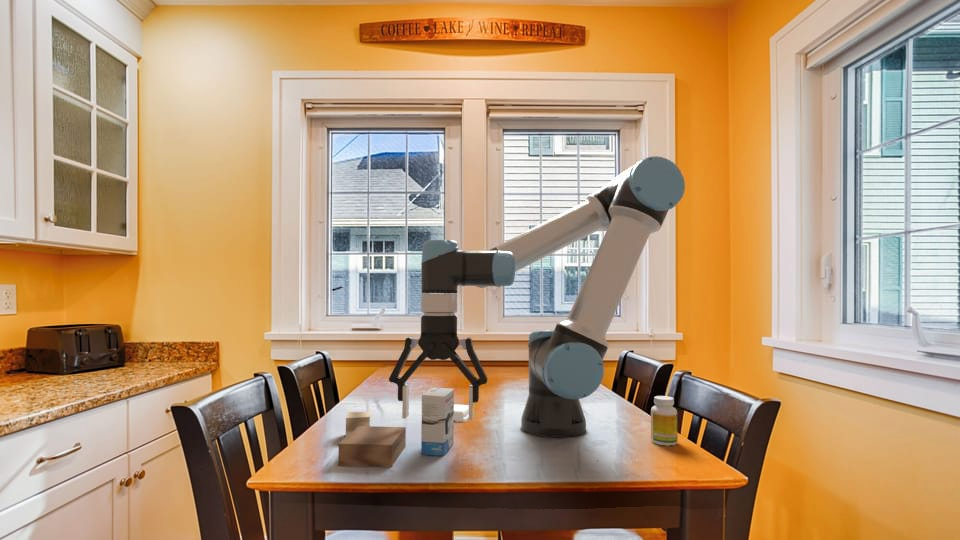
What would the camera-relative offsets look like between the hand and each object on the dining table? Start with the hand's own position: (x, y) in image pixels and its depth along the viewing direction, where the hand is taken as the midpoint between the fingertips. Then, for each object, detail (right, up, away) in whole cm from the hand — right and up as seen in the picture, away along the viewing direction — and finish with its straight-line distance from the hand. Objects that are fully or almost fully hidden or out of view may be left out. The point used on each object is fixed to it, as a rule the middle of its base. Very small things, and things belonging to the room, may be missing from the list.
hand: (438, 417), depth 101 cm
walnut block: (-12, -6, -5) cm, 14 cm away
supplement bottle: (+48, -7, +5) cm, 49 cm away
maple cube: (-18, -7, +8) cm, 21 cm away
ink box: (0, -7, 0) cm, 7 cm away
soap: (+3, -8, +26) cm, 27 cm away
